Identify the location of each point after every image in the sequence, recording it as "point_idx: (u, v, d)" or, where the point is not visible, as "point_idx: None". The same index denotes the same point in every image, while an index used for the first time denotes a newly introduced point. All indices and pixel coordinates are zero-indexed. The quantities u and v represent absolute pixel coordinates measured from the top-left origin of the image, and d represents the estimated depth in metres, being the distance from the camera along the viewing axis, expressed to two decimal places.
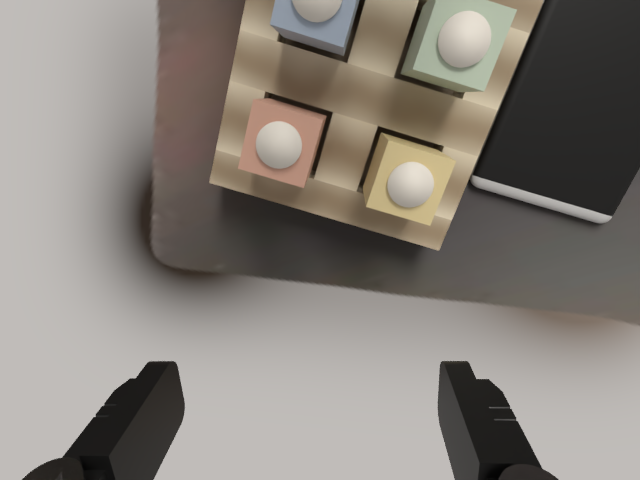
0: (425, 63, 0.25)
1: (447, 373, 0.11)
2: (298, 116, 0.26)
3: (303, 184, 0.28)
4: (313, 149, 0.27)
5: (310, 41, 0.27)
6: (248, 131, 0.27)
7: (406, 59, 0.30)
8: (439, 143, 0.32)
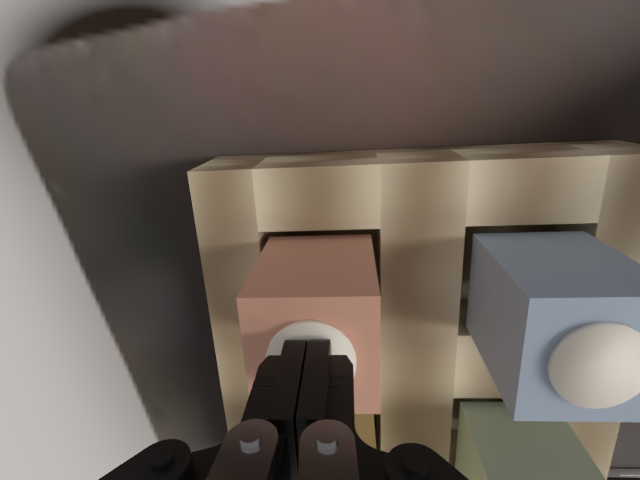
0: None
1: (307, 349, 0.12)
2: (375, 377, 0.14)
3: None
4: None
5: (493, 319, 0.16)
6: (315, 301, 0.13)
7: (484, 414, 0.20)
8: None
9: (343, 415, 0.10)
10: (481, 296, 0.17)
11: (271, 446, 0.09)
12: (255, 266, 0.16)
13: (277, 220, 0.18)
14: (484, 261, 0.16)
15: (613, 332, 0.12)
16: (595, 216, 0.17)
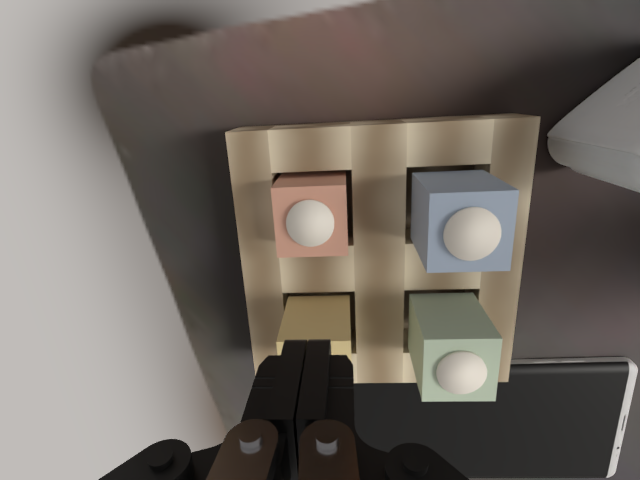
0: (432, 348, 0.25)
1: (307, 349, 0.12)
2: (344, 232, 0.26)
3: (280, 256, 0.27)
4: (318, 255, 0.27)
5: (419, 220, 0.25)
6: (312, 188, 0.25)
7: (424, 299, 0.30)
8: (357, 348, 0.32)
9: (343, 415, 0.10)
10: (415, 210, 0.27)
11: (271, 446, 0.09)
12: (278, 179, 0.28)
13: (284, 164, 0.28)
14: (416, 186, 0.26)
15: (476, 211, 0.22)
16: (488, 159, 0.27)
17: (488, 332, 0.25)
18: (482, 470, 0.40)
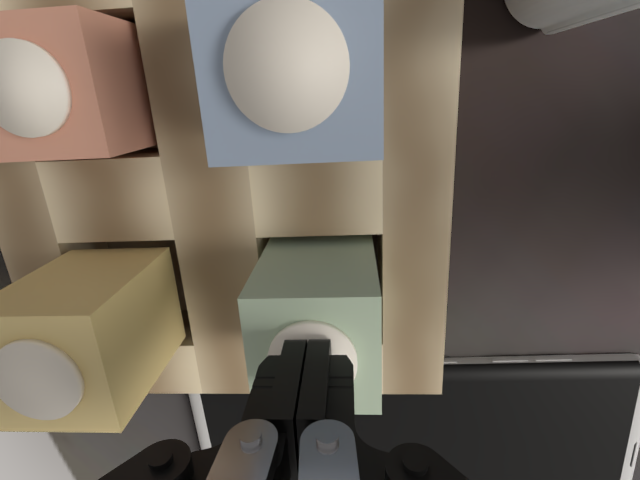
0: (254, 315, 0.13)
1: (307, 349, 0.12)
2: (94, 110, 0.14)
3: None
4: (55, 158, 0.14)
5: None
6: (15, 15, 0.13)
7: (288, 243, 0.18)
8: (194, 338, 0.20)
9: (343, 415, 0.10)
10: None
11: (271, 446, 0.09)
12: None
13: (13, 0, 0.15)
14: None
15: (285, 5, 0.09)
16: None
17: (361, 287, 0.14)
18: None
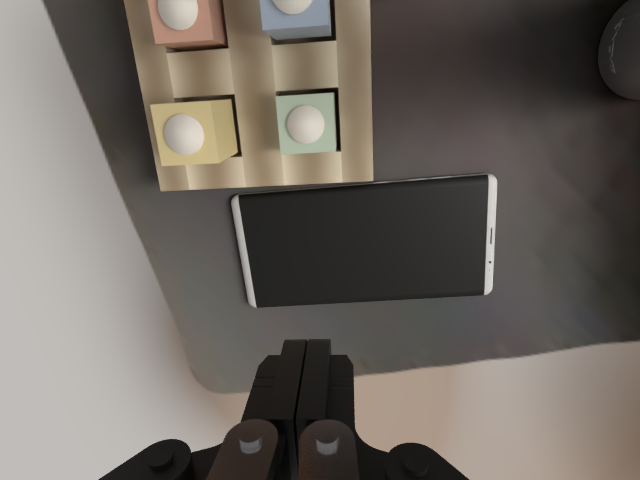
0: (282, 104, 0.33)
1: (307, 349, 0.12)
2: (207, 17, 0.31)
3: (158, 42, 0.32)
4: (188, 40, 0.32)
5: None
6: None
7: None
8: (242, 152, 0.38)
9: (343, 415, 0.10)
10: None
11: (271, 446, 0.09)
12: None
13: None
14: None
15: None
16: None
17: None
18: (375, 292, 0.45)
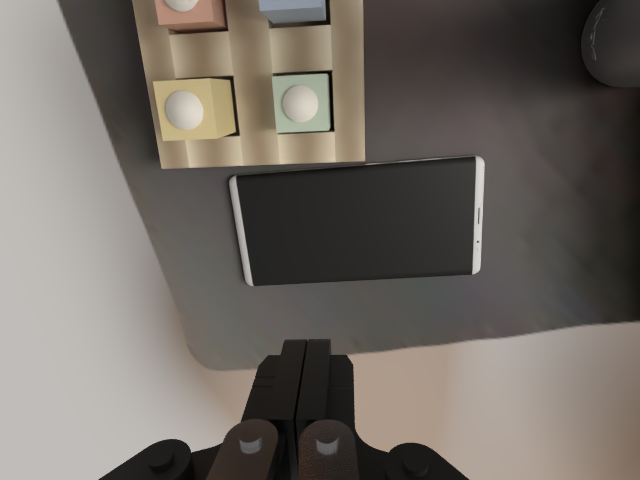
0: (278, 84, 0.35)
1: (307, 349, 0.12)
2: None
3: (161, 23, 0.34)
4: (190, 21, 0.34)
5: None
6: None
7: None
8: (240, 131, 0.39)
9: (343, 415, 0.10)
10: None
11: (271, 446, 0.09)
12: None
13: None
14: None
15: None
16: None
17: None
18: (367, 270, 0.47)
